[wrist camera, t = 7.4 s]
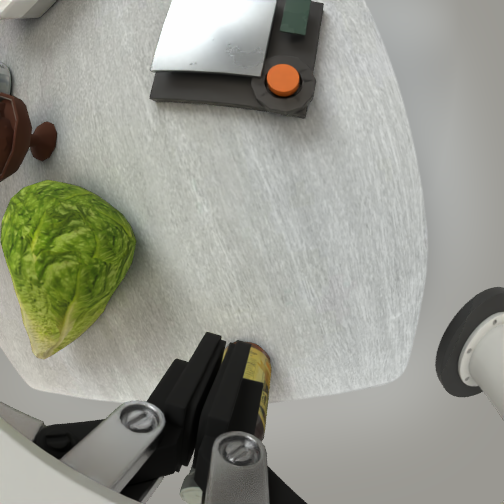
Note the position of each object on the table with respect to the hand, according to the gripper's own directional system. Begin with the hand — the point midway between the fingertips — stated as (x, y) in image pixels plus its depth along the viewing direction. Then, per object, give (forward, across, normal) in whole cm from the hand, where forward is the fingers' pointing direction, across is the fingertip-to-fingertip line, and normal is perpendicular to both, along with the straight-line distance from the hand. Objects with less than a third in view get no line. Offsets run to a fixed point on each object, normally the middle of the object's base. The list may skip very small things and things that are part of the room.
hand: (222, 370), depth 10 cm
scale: (+20, +8, -20) cm, 30 cm away
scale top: (+17, +8, -21) cm, 29 cm away
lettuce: (+20, +23, +9) cm, 32 cm away
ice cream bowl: (+20, +32, -8) cm, 39 cm away
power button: (+18, +2, -16) cm, 24 cm away
